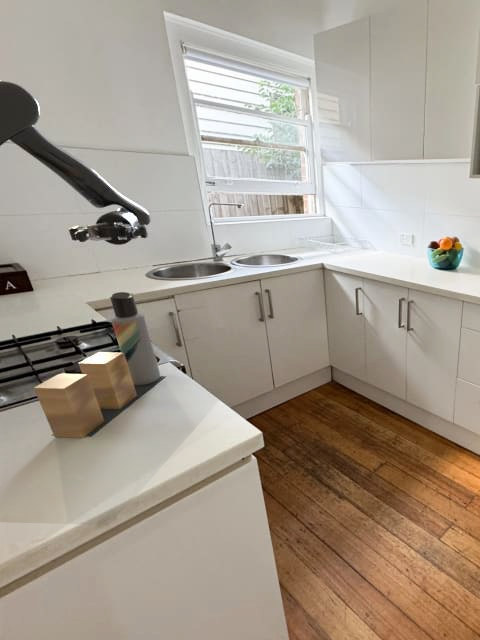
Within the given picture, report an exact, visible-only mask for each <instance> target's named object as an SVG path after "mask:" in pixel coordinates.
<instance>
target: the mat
mask: <svg viewBox="0 0 480 640" xmlns="http://www.w3.org/2000/svg"><path fill="white" fill-rule="evenodd" d="M166 378H167V376H166V375H160V378H159V379H158V380H157V381H155V382H153V383H150V384H146V385H134V387H135V391H136V394H137V396H136V397H135V398H134V399H132V400H131V401H130V402H128V403H127V404H126V405H125V406H123V407H122V408H121V409H100V410H101V413H102V415H103V418H104V422H103V423H102V424H100V425H99V426H98V427H97V428H95V429H94V430H93V431H91V432H90V433H89V434H88V435H86V436H85V437H86V438H87V437H90V438H92V437H93V436H94V435H96V434H97V433H98V432H99V431H100V430H102V429H103V428H105V426H107V425H108V424H109V423H111V422H112V421H113V420H114V419H115V418H117V417H118V416H119V415H121V414H122V413H123V412H124V411H125V410H127V409H128V408H129V407H130V406H132V405H133V404H134V403H136V401H138V400H139V399H140V398H142V397H143V396H145V394H147V393H148V392H149V391H150V390H152V389H153V388H154V387H155V386H157V385H158V384H159V383H160V382H162V381H163V380H164V379H166ZM51 436H52V437H55V436H54V434H53V433H52V434H51ZM85 437H84V438H85Z"/></svg>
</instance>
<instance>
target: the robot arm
mask: <svg viewBox="0 0 480 640" xmlns="http://www.w3.org/2000/svg"><path fill="white" fill-rule="evenodd" d="M40 117H41V109H40V105H39V103H38V101H37V99H36V98H35V96H34V95H33V94H32V93H31V92H30V91H29V90H28V89H26V88H24V87H23V86H21V85H19V84H17V83H13V82H10V81H4V80H0V147H1V146H3V145H4V144H6V143H7V142H9V141H10V142H11V143H13V144H15V145H16V146H18V147H19V148H21V149H22V150H23V151H25V152H26V153H27V154H28V155H30V156H32V157H33V158H34V159H36V160H37V161H39V162H40V163H41V164H43V166H45V167H46V168H48V169H49V170H51V171H52V172H53V173H54V174H55V175H57V176H58V177H59V178H60V179H62V180H63V181H64V182H65V183H66V184H68V185H69V186H70V187H71V188H72V189H74V191H76V192H77V193H78V194H79V195H80V196H81V197H83V198H84V199H85V201H87V202H88V203H89V204H90V205H92V206H93V207H94V208H97V209H104V208H106V207H110V206H114V205H115V206H119V207H120V208H118V209H117V210H112V211H109V212H107V213H105V214H101V215H100V216H99V217H98V218H97V220H96V222H95V224H87V225H86V226H85V227H84V226H83V225H80V224H78V225H75V226H72V227H70V228H67V229H68V232H69V236H70V238H71V241H79V243H86V241H89V240H90V241H93V242H94V241H95V242H98V241H104V242H106V243H109V244H111V245H114V246H115V245H116V246H122V245H126V244H127V243H129V242H131V241H132V240H136V239H138V237H140V238H141V239H146V238H148V236H149V232H148V229H147V226H148V225H149V224H150V223H151V220H152V219H151V216H150V214H149V212H148V211H147V210H146V209H145V208H144V207H143V206H141V205H140V204H138V203H136V202H135V201H134V200H131V199H129V198H127V197H126V196H124V194H122V193H120V192H119V191H117V190H116V189H115V188H114V187H113V186H112V185H111V184H110V183H108V182H107V180H105V179H104V178H103V177H102V176H101V175H100V174H99V173H97V172H96V170H94V169H93V168H92V167H91V166H89V165H88V164H86V163H85V162H84V161H82V160H80V159H79V158H77V157H76V156H74V155H72V154H71V153H69V152H68V151H66V150H65V149H63V148H61V147H60V146H58V145H57V144H56V143H55V142H53V141H52V140H50V139H49V138H48V137H47V136H46V135H45V134H43V133H42V132H41V131H40V130H39V129H38V127H37V126H36V125H37V123H38V122H39V121H40Z"/></svg>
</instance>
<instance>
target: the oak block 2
mask: <svg viewBox="0 0 480 640" xmlns="http://www.w3.org/2000/svg"><path fill="white" fill-rule="evenodd" d="M78 366H79V369H80V372H81V374H88V376H89V379H90V382H91V385H92V388H93V390H94V393H95V396H96V399H97V401H98V404H99V407H100V409H121V408H122V407H123V406H125V405H126V404H127V403H128V402H130V401H131V400H132V399H134V398H135V397H136V396H137V394H136V391H135V387H134V384H133V381H132V378H131V374H130V371H129V368H128V365H127V361H126V358H125V355H124V353H121V352H118V351H117V352H114V351H113V352H112V351H97V352H95V353H94V354H92V355H91V356H88V357H86V358H85V359H83V360H82V361H79V362H78Z"/></svg>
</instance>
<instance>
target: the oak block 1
mask: <svg viewBox="0 0 480 640" xmlns="http://www.w3.org/2000/svg"><path fill="white" fill-rule="evenodd" d="M33 390H34V392H35V395H36V397H37V399H38V401H39V404H40V407H41V409H42V411H43V413H44V415H45V418H46V421H47V422H48V425H49V427H50V430H51V432H52V435H53V434H54V436H53V437H54V438H65V439H66V438H67V439H68V438H70V439H73V438H74V439H84V438H85V436H86V435H88V434H89V433H90V432H91V431H93V430H94V429H95V428H97V427H98V426H99V425H100V424H102V423H103V422H104V418H103V415H102V413H101V410H100V407H99V404H98V401H97V399H96V396H95V393H94V390H93V388H92V385H91V382H90V379H89V376H88V374H82V373H58V374H56V375H54V376H52V377H51V378H49V379H47V380H45V381H43V382H42V383H40V384H38V385H36V386H34V387H33Z"/></svg>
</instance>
